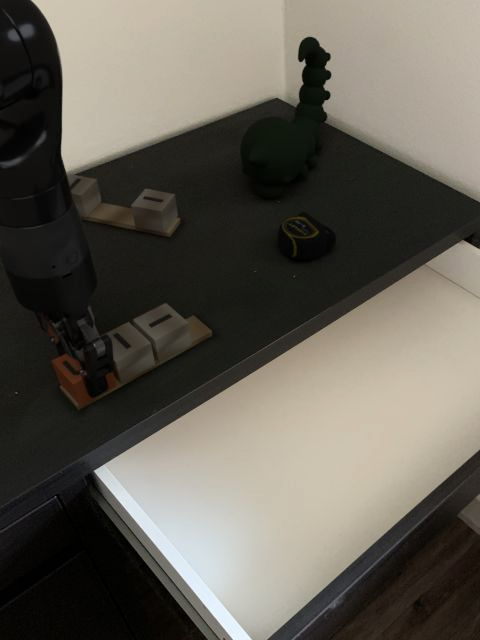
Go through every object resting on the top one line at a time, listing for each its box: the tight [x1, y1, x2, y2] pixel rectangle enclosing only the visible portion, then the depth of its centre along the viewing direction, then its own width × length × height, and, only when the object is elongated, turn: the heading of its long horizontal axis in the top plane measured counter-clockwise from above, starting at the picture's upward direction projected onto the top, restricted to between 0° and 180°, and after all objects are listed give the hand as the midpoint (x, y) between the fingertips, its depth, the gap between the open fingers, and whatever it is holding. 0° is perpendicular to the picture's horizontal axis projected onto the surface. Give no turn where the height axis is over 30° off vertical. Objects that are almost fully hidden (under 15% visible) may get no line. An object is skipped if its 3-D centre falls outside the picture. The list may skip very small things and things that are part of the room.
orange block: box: [51, 354, 117, 406], centre depth 71 cm, size 4×4×4 cm
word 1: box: [67, 173, 182, 238], centre depth 93 cm, size 17×4×4 cm, turn 73°
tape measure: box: [277, 211, 337, 261], centre depth 90 cm, size 7×7×4 cm
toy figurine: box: [239, 36, 332, 200], centre depth 97 cm, size 9×19×25 cm
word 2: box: [59, 302, 213, 411], centre depth 74 cm, size 18×4×4 cm, turn 132°
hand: (86, 378), depth 72 cm, fingers closed on orange block, 4 cm apart
